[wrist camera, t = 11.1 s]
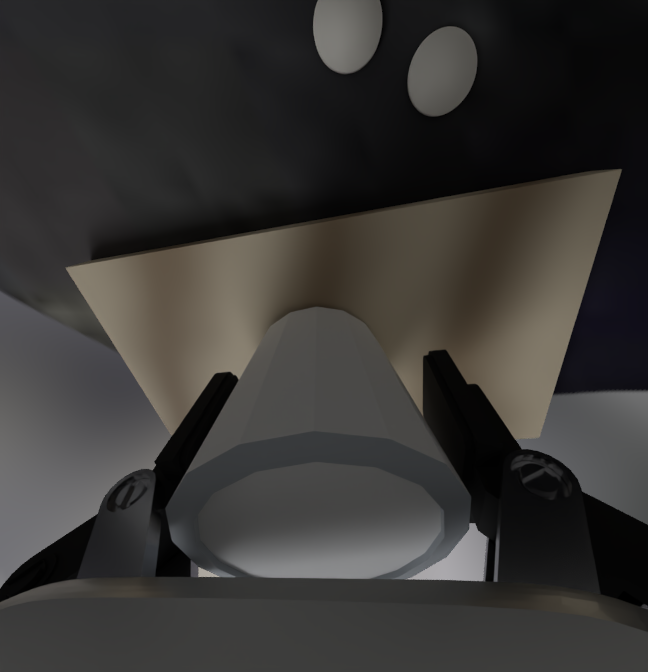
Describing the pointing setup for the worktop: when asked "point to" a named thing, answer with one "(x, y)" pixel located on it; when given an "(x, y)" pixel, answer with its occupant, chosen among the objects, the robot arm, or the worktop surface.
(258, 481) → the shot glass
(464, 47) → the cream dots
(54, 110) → the worktop surface
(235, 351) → the birch board
